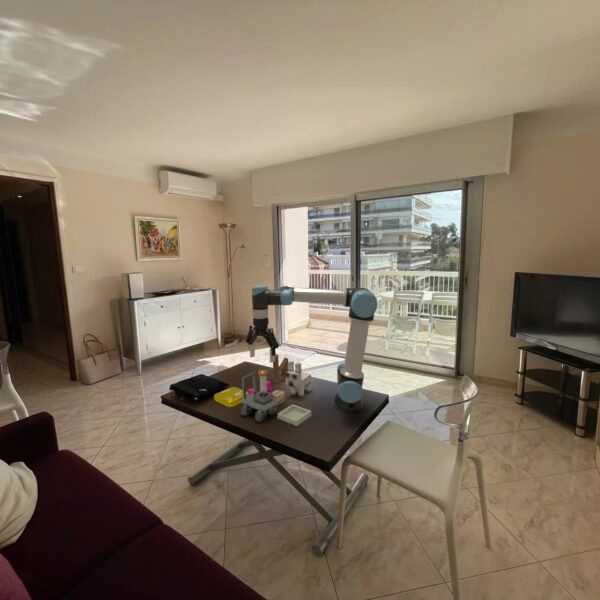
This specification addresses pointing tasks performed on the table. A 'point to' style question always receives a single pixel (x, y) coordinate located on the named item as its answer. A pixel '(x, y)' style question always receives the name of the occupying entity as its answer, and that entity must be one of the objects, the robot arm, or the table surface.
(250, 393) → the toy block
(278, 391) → the chock
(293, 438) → the table surface
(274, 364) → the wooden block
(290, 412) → the tray
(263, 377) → the pin
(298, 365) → the toy llama
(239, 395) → the yellow square case
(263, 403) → the trolley
